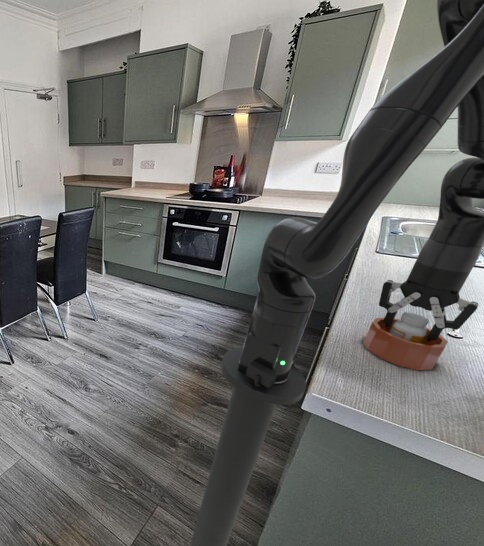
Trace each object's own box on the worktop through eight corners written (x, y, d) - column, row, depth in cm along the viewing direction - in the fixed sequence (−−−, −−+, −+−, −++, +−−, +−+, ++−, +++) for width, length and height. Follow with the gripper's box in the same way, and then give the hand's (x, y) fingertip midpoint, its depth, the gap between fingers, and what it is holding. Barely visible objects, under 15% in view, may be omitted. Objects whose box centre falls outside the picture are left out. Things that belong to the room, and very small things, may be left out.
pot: (427, 377, 64) (441, 354, 62) (357, 348, 73) (366, 327, 70) (438, 357, 70) (451, 335, 68) (372, 332, 79) (381, 312, 76)
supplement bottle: (413, 353, 71) (433, 317, 68) (413, 363, 68) (434, 326, 64) (382, 343, 75) (399, 308, 71) (380, 352, 72) (398, 316, 68)
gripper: (390, 256, 66) (361, 323, 73) (498, 279, 55) (452, 355, 62) (399, 250, 70) (371, 314, 77) (502, 270, 59) (458, 343, 66)
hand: (407, 332), depth 69 cm, fingers open, 6 cm apart
